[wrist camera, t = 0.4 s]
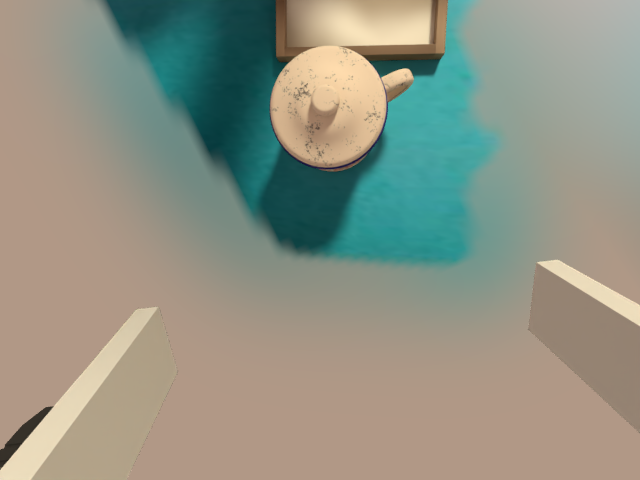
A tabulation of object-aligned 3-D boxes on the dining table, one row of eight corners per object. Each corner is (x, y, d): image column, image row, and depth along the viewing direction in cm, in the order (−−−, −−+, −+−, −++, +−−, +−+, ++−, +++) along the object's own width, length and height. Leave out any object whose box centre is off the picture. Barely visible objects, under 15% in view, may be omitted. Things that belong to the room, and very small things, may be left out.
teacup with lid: (312, 188, 36) (293, 188, 25) (273, 106, 35) (236, 67, 24) (421, 136, 35) (455, 110, 23) (383, 49, 34) (400, -24, 22)
